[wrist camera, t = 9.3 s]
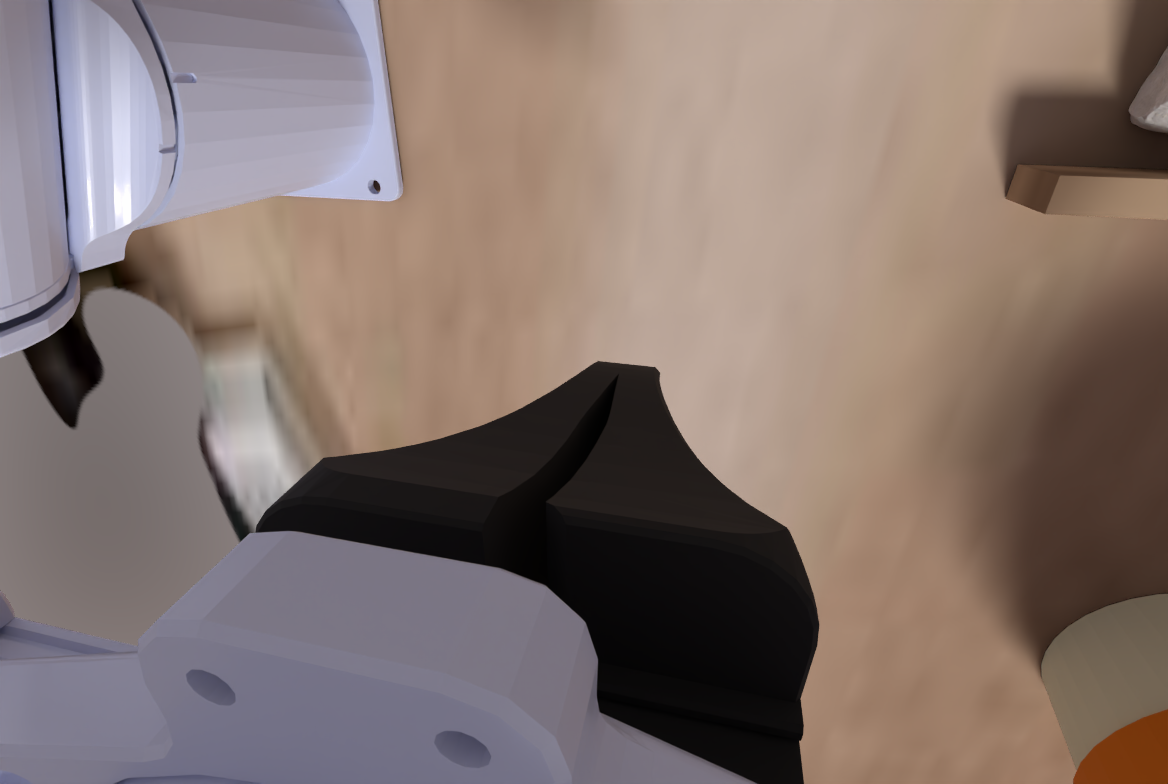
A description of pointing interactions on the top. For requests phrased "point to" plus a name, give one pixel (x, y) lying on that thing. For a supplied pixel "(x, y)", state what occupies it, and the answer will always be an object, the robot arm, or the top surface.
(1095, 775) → the reusable coffee cup
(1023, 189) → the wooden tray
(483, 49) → the top surface
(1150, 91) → the white rough stone
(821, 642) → the top surface
